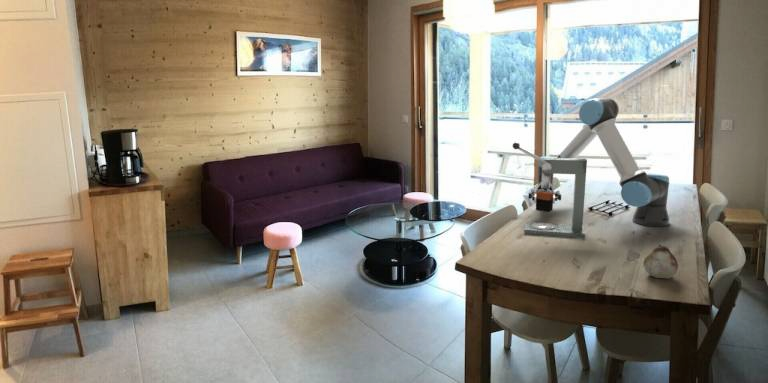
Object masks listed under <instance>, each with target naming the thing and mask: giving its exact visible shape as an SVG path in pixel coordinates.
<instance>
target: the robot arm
mask: <svg viewBox="0 0 768 383" xmlns="http://www.w3.org/2000/svg"><path fill="white" fill-rule="evenodd" d="M619 109H620V108H619V105H618V103H617V102H616V101H615V100H614V99H612V98H610V97H603V98H601V97H600V98H590V99H588V100H585V101H584V102H583V103H581V106H580V107H579V110H578V117H579V120H580V122H582V123H583V124H584V127H582V129H581V130H580V131H579V132H578V133H577V134H576V136H574V138H573V139H572V140H571V141H570V142H569V143H568V145H566V147H565V148H564V149H563V150H562V151H561V152H560V154H559V155H558V156H556V158H578V156H579V155H580V154H581V153H582V152H583V151H584V150H585V149H586V148H587V147H588V146H589V145H590V144H591V143H592V141H594V140H595V138H596V137H598V138H599V141H600V142H601V144H602V146H603V148H604V150H605V151H606V154H607V155H608V157H609V160H610V161H611V163H612V165H613V167H614V168H615V170H616V172H617V174H618V177H619V178H620V181H619V185H620V187H621V188H620V189H621V190H620V195H621V198H622V200H623V202H624V203H626V204H627V205H628V206H631V207H636V209H635V211H634V213H633V215H632V222H633V223H636V224H639V225H643V226H648V227H649V226H650V227H665V226H668V225H669V224H670V216H669V214H668V209H667V203H668V194H669V186H670V177H669V176H668V175H664V174H660V173H659V174H656V173H647V172H646V171H644V170H641V169H640V167H639V165H638V164H637V162H636V160H635V158H634V157H633V154H632V153H631V151H630V149H629V148H628V145H627V144H626V142H625V140H624V138H623V136H622V135H621V133H620V131H619V129H618V127H617V126H616V121H617V117H618V116H619ZM539 157H540V158H554V157H553V156H539ZM537 171H538V173H537V176H538V178H537V189H536V190H534V189H530V191H529V192H528V196H527V198H528V199H529V200H530V199H531V200H532V201H533V202H534V204H536V193H537V191H540V190H539V189H544V191H547V190H550V192H553V205H555V202H557V201H562V194H561V193H560V190H556V191H554V190H553V186H554V174H551V176H550V188H548V189H545V188H541V184H542V163H541V162H539V161H538V169H537Z"/></svg>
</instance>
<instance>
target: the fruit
mask: <svg viewBox="0 0 768 383" xmlns="http://www.w3.org/2000/svg"><path fill="white" fill-rule="evenodd" d="M643 268H644V270H645V271H646V273H647V274H648V275H650V276H652V277H653V278H657V279H670V278H672V277H673V276H675V275H676V273H677V271H678V268H679V263H678V260H677V258H676V256H675V255H674V254H673V253H672V252H671V251H670V249H669V248H668V247H666V246H664V245H661V244H659V245H658V246H656V247H655V248H653V250H652V251H651V252H650V253H648V254H647V255H646V256H645V258H644V259H643Z"/></svg>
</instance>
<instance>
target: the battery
mask: <svg viewBox="0 0 768 383" xmlns="http://www.w3.org/2000/svg"><path fill="white" fill-rule="evenodd" d="M539 190H540V191H537V193H536V203H535V210H536V211H540V212H547V213H549V212H551V211H553V208H554V207H553V206H554V204H553V192H550V190H547V191H544V189H539Z"/></svg>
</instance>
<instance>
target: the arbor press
mask: <svg viewBox="0 0 768 383" xmlns="http://www.w3.org/2000/svg"><path fill="white" fill-rule="evenodd" d="M512 148H513V149H514V150H518V151H521V152H522V153H524V154H525V155H527V156H529V157H530V158H532V159H534V160H536V161H538V163H539V162H541V163H542V184H541V188H545V189H548V188H550V176H551V174H553V175H555V174H556V175H557V174H559V175H574V185H573V186H574V187H573V199H572V200H573V201H572V216H571V217H572V218H571V223H555V222H554V223H553V222H542V221H541V222H540V221H539V222H538V221H525V224H524V229H523V230H524V231H523V233H524V235H529V234H530V235H531V236H543V237H544V236H545V237H546V236H547V237H559V238H570V239H586V232H585V226H584V224H583V223H584V213H585V212H584V211H585V209H584V208H585V196H586V195H585V194H586V180H587V167H588V166H587V164H588V159H587V158H579V157H576V158H557V157H553V158H540V157H541V156H538V155H537V154H534V153H533V152H531V151H530V150H528V149H527V148H525V147H523V146H521V145H520V143H519V142H517V141H515V142H514V143H512Z"/></svg>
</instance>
